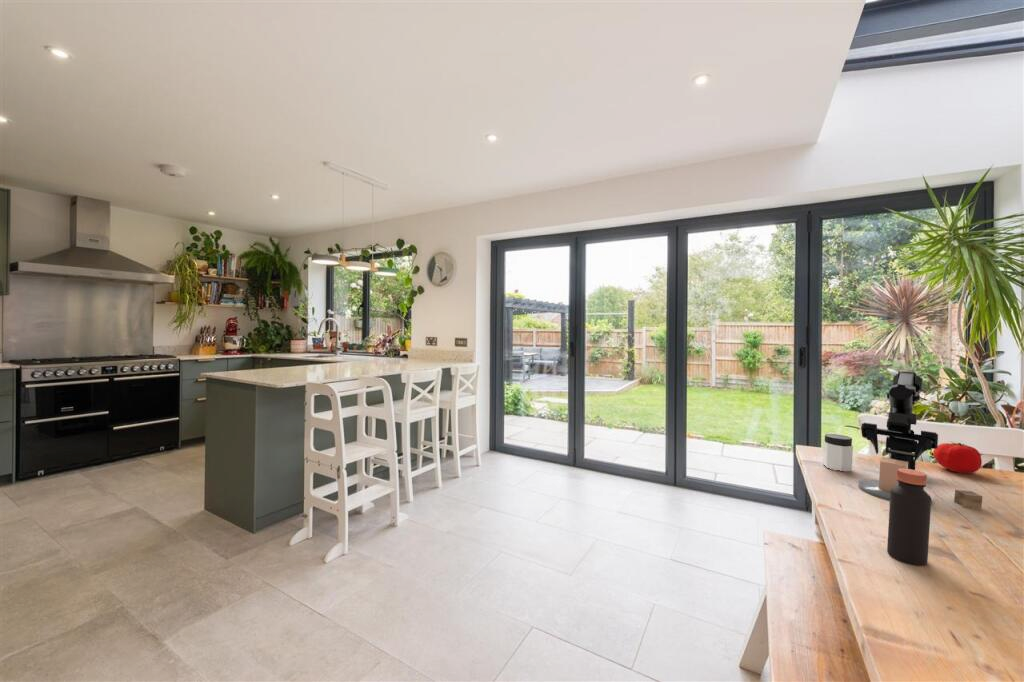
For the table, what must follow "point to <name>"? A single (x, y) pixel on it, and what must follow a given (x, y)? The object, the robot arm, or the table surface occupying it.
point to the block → (968, 499)
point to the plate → (873, 488)
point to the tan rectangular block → (890, 472)
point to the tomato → (958, 457)
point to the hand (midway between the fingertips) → (895, 456)
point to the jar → (837, 452)
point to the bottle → (909, 518)
